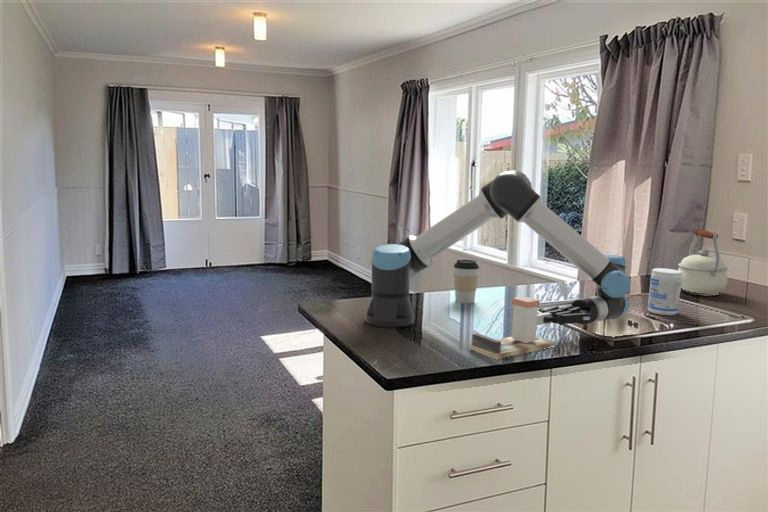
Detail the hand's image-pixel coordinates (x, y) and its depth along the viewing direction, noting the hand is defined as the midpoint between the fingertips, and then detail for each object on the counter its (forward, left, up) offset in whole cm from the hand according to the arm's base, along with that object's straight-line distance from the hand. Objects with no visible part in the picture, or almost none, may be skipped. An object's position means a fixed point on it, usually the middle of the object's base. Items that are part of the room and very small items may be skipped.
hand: (532, 320), depth 174 cm
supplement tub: (+41, +57, -8) cm, 70 cm away
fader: (-2, -1, -5) cm, 6 cm away
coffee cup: (-26, +49, -8) cm, 56 cm away
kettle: (+60, +100, -8) cm, 117 cm away
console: (-5, -4, -7) cm, 10 cm away
